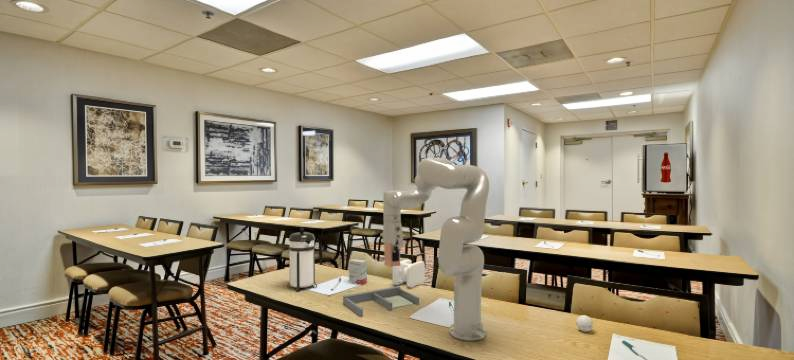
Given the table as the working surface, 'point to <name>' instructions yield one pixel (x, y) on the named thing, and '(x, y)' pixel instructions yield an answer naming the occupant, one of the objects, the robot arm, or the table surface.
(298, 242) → the coffee press
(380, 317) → the table surface
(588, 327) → the white rounded lump
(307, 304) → the table surface
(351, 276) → the ink box
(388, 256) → the terracotta block
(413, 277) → the cable organizer
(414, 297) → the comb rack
